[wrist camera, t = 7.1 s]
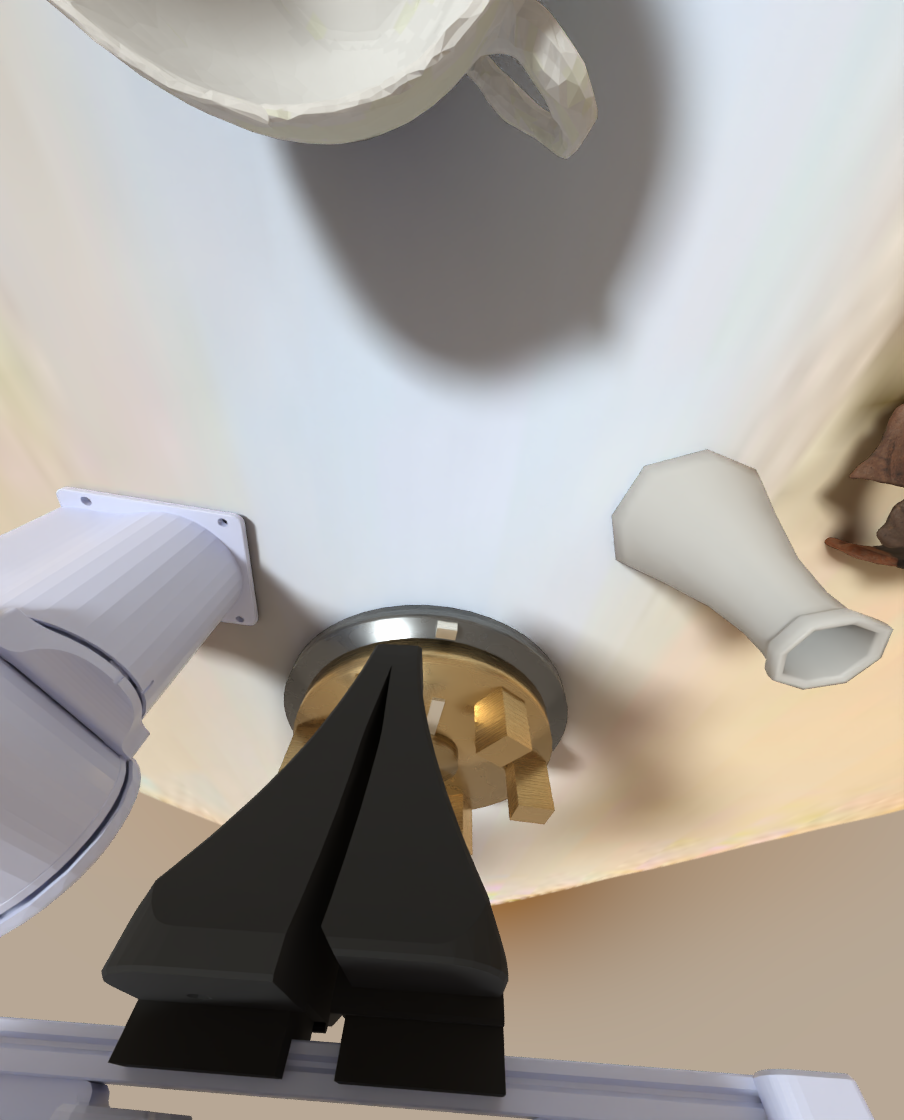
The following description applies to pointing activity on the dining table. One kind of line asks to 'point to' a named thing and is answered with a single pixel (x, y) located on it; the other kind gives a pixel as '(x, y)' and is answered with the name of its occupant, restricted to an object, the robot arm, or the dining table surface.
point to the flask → (742, 567)
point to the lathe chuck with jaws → (461, 726)
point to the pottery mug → (894, 463)
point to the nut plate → (430, 626)
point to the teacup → (347, 62)
